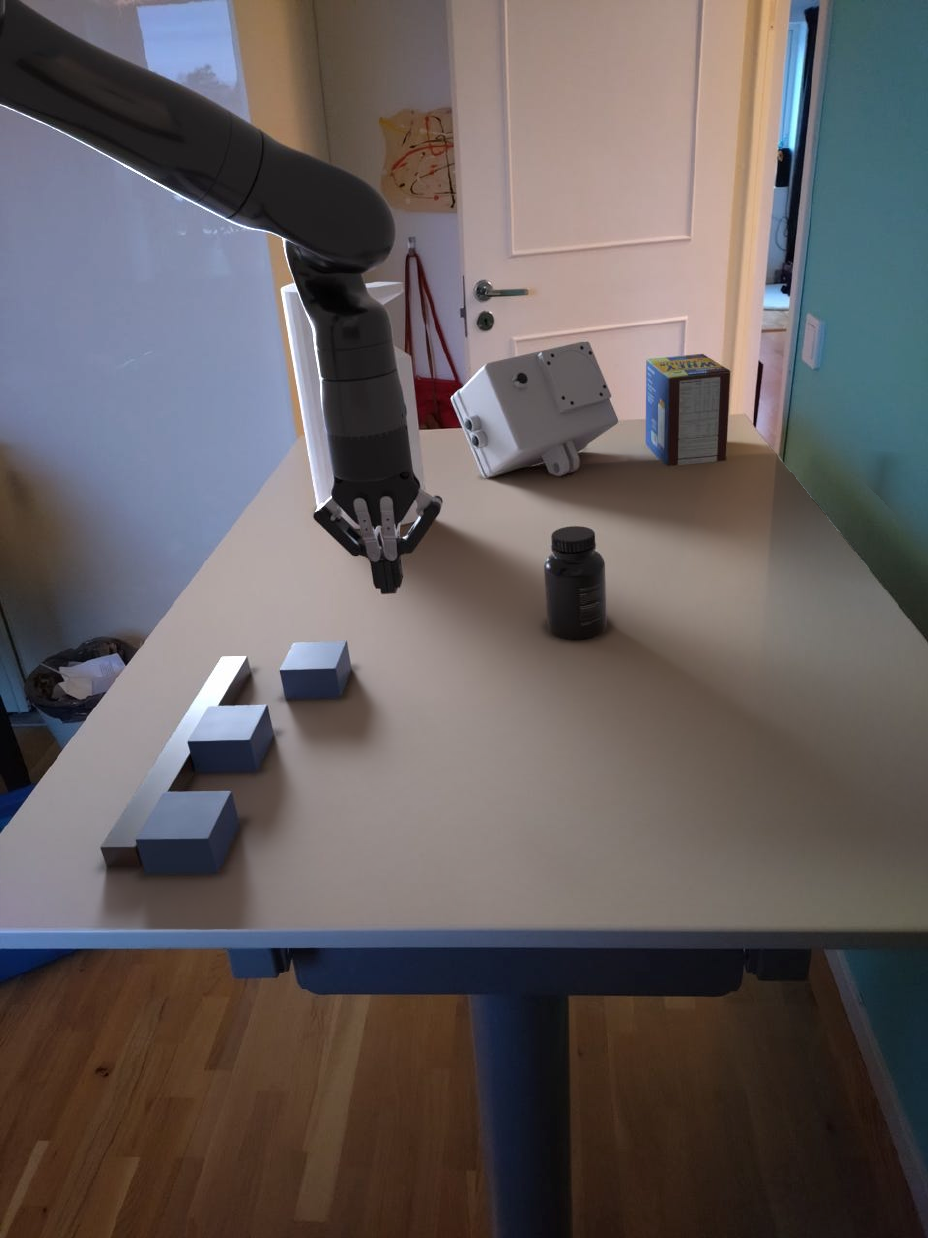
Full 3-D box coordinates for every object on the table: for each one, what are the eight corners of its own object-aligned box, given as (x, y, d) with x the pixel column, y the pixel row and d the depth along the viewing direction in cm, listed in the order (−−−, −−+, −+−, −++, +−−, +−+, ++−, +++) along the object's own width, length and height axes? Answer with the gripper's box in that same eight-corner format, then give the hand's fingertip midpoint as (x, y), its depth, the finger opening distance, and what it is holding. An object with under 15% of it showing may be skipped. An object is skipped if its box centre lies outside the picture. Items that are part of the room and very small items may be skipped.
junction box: (527, 478, 140) (474, 349, 141) (484, 508, 154) (436, 390, 154) (638, 443, 152) (589, 324, 152) (590, 474, 165) (544, 364, 166)
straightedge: (107, 871, 73) (99, 847, 72) (226, 676, 101) (221, 656, 100) (142, 871, 73) (135, 847, 72) (251, 675, 101) (247, 655, 99)
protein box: (700, 438, 166) (703, 352, 159) (726, 462, 152) (732, 370, 145) (644, 443, 166) (645, 358, 159) (665, 468, 152) (668, 376, 145)
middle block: (196, 776, 84) (186, 741, 82) (216, 739, 89) (208, 706, 88) (258, 775, 84) (249, 740, 82) (275, 738, 89) (267, 704, 87)
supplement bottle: (605, 615, 106) (603, 520, 101) (608, 643, 100) (607, 544, 95) (547, 617, 107) (542, 523, 102) (546, 645, 101) (542, 546, 96)
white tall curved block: (344, 495, 154) (432, 517, 141) (292, 516, 146) (379, 541, 133) (311, 279, 138) (407, 281, 125) (251, 290, 131) (345, 294, 117)
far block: (285, 702, 95) (279, 670, 93) (299, 673, 100) (293, 642, 98) (341, 701, 94) (335, 668, 92) (352, 672, 99) (347, 640, 98)
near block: (147, 878, 72) (134, 839, 71) (174, 828, 78) (163, 791, 76) (218, 877, 72) (208, 839, 70) (241, 827, 77) (231, 790, 75)
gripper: (285, 438, 80) (318, 610, 88) (432, 428, 78) (451, 604, 86) (305, 415, 87) (334, 578, 95) (441, 406, 85) (458, 571, 93)
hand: (390, 590), depth 90 cm, fingers closed
